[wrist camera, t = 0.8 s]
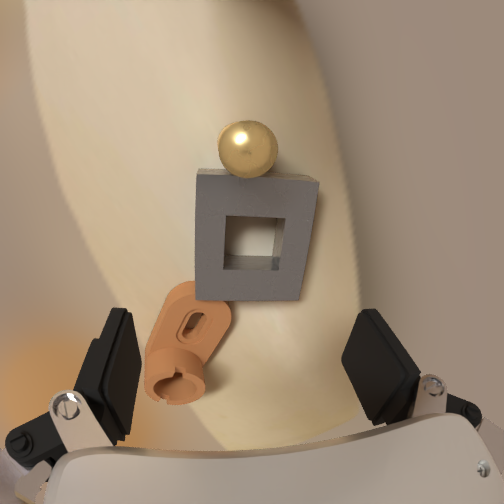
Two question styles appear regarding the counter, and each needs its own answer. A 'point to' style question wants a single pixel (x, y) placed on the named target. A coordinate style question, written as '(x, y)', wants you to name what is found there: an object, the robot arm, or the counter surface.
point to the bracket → (183, 345)
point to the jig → (255, 205)
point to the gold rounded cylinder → (247, 148)
